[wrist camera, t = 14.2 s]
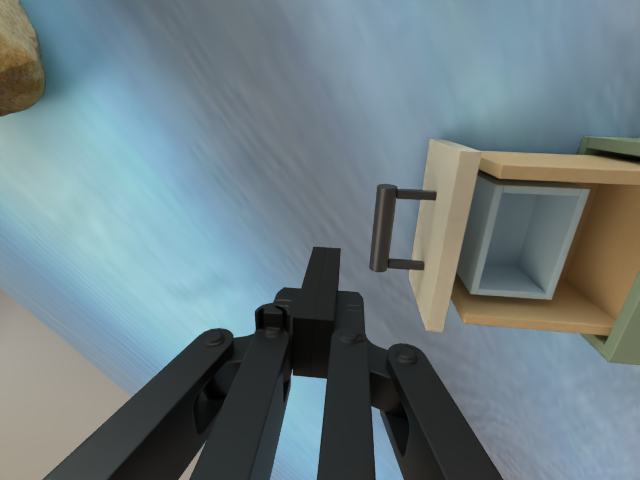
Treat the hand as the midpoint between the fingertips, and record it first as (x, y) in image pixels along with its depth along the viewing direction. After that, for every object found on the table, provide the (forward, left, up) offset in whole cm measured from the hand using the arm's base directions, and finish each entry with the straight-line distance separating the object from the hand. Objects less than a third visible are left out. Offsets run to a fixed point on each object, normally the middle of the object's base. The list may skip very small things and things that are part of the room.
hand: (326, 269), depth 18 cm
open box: (-5, +12, -10) cm, 16 cm away
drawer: (-4, +11, -11) cm, 16 cm away
